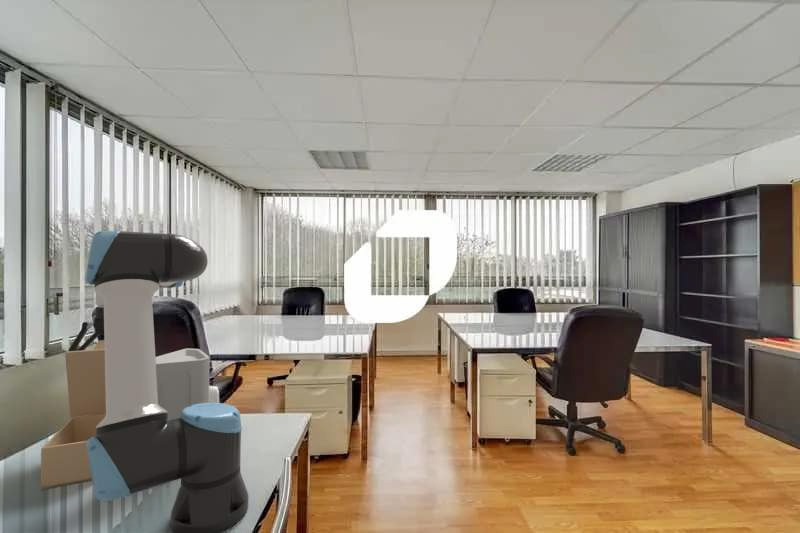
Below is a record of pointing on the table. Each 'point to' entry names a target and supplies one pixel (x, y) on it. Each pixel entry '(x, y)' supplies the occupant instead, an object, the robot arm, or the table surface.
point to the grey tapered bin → (182, 380)
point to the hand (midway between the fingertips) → (109, 371)
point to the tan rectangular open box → (68, 453)
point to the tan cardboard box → (86, 380)
